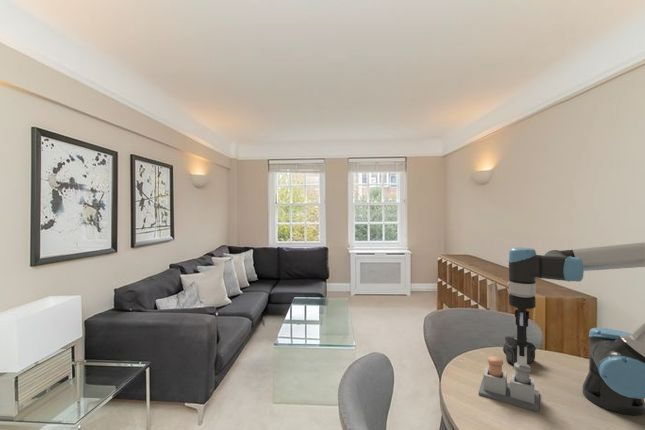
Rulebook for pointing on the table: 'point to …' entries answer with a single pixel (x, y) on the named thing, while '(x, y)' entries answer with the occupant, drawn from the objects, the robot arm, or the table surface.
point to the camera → (511, 350)
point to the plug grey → (522, 373)
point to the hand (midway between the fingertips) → (522, 364)
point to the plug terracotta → (495, 366)
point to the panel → (510, 391)
